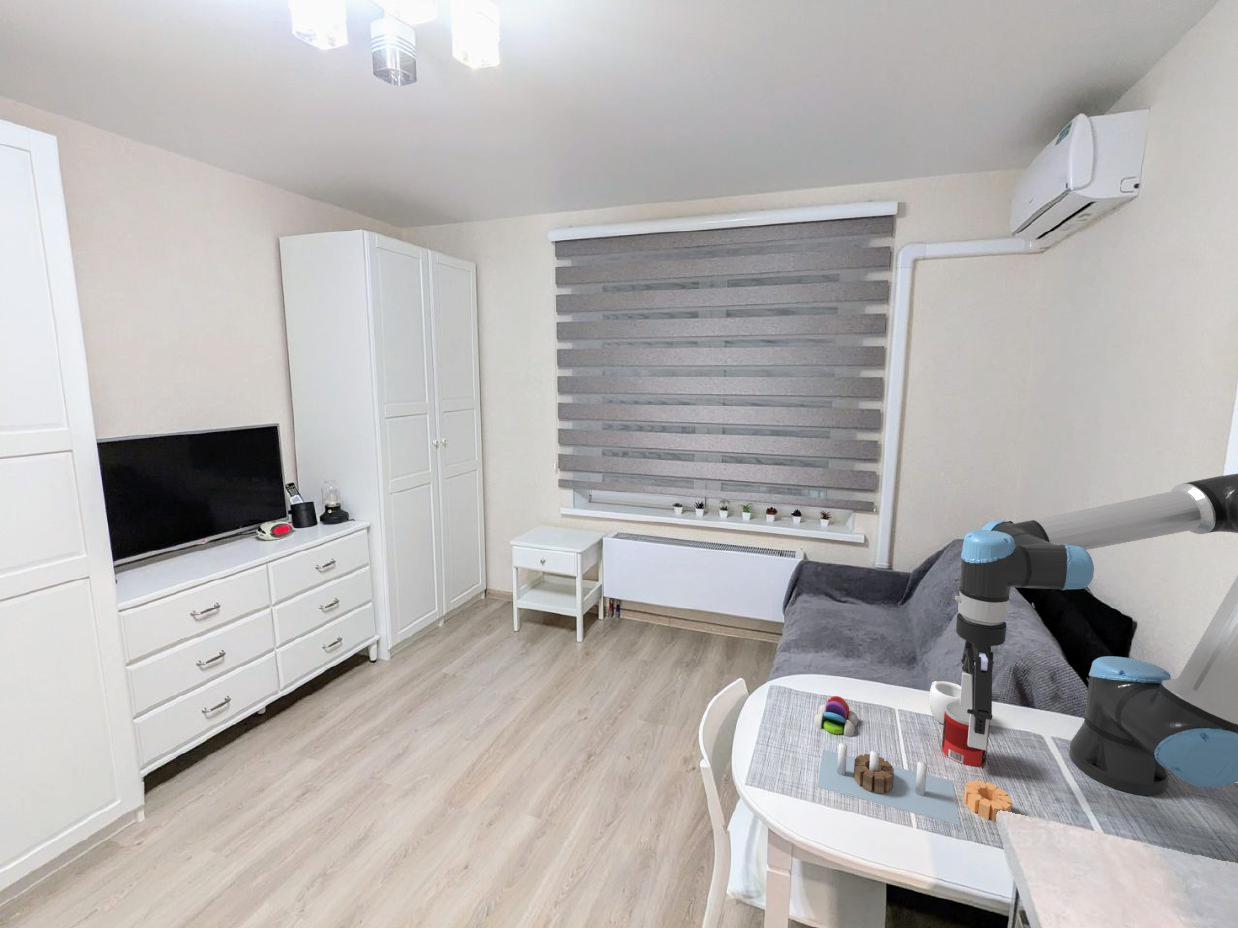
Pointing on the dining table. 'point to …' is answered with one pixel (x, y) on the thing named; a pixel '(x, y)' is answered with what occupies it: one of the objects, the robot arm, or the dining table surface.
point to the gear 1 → (873, 774)
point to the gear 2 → (986, 799)
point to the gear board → (907, 791)
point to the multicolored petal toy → (836, 717)
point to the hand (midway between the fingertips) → (972, 725)
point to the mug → (942, 698)
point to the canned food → (960, 737)
